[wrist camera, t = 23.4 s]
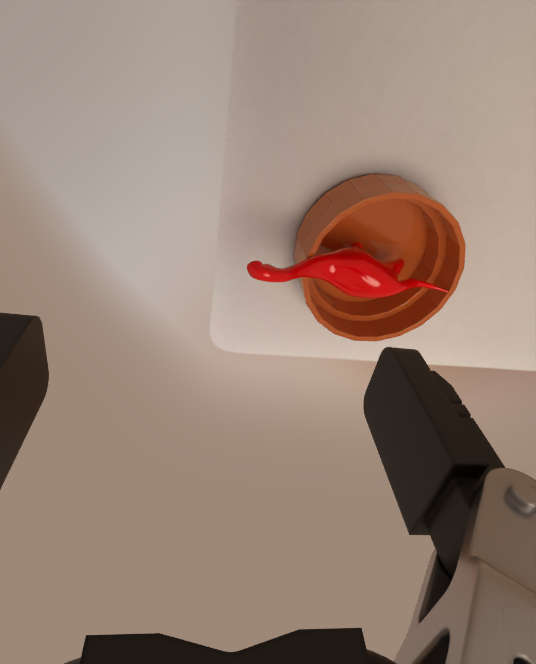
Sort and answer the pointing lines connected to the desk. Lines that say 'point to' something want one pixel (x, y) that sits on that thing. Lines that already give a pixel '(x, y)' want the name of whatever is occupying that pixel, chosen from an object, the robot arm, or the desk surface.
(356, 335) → the terracotta bowl
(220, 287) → the desk surface
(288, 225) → the desk surface
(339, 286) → the dinosaur
